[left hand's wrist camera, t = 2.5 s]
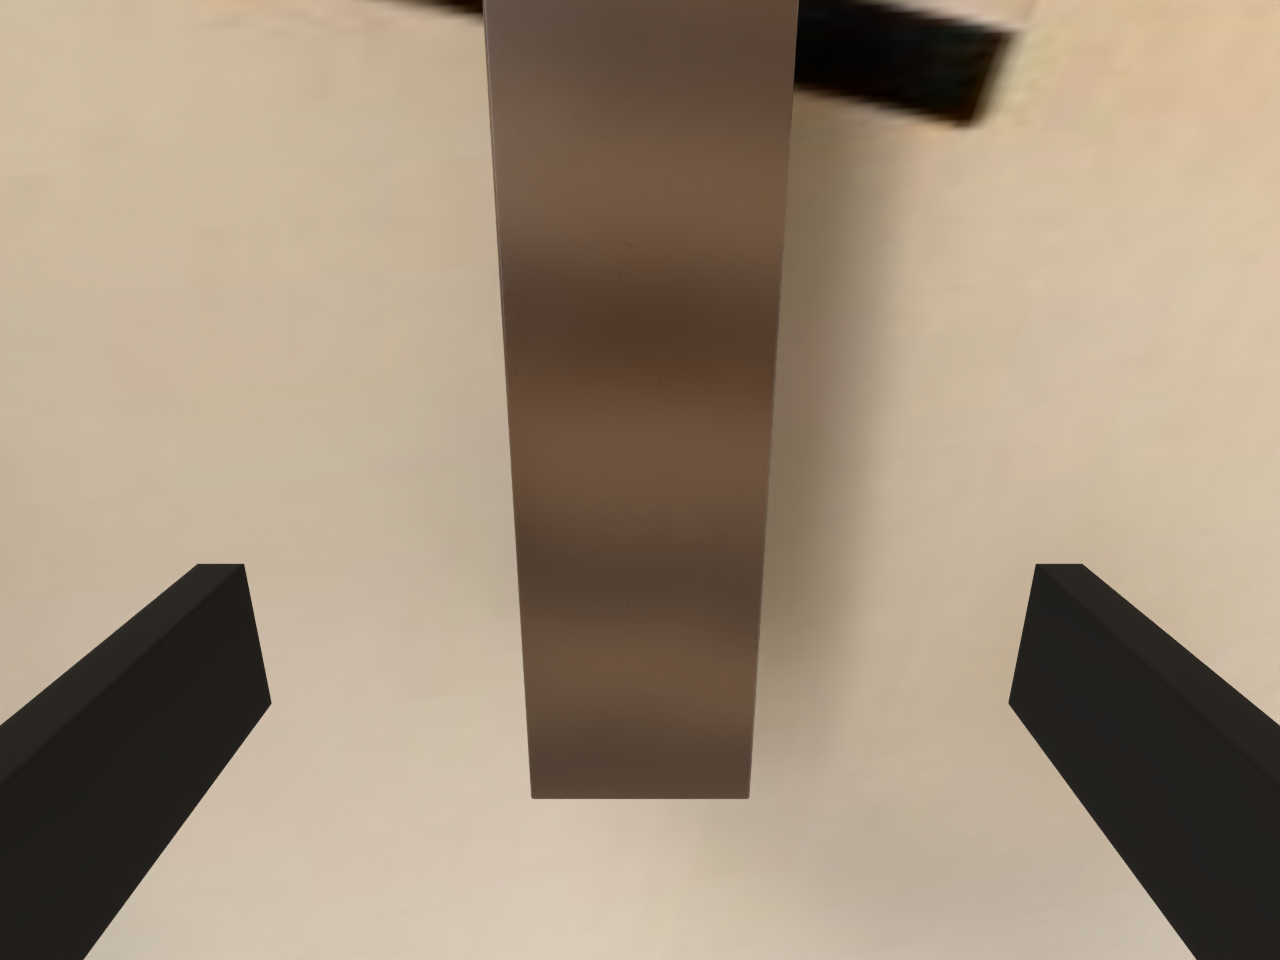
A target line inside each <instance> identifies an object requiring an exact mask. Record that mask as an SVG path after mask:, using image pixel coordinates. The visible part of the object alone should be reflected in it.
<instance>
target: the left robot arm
mask: <svg viewBox="0 0 1280 960" xmlns="http://www.w3.org/2000/svg"><path fill="white" fill-rule="evenodd" d="M271 704H272V703H271V698H270V693H269V688H268V683H267V678H266V673H265V668H264V663H263V657H262V652H261V647H260V642H259V637H258V632H257V627H256V622H255V617H254V612H253V607H252V602H251V597H250V592H249V587H248V582H247V576H246V571H245V566H244V564H197V565H196V566H195V567H193V568H192V569H191V570H190V571H189V572H187V573H186V574H185V575H184V576H182V577H181V578H180V579H179V580H178V581H176V582H175V583H174V584H173V585H171V586H170V587H169V588H168V589H167V590H165V591H164V592H163V593H162V594H160V595H159V596H158V597H157V598H156V599H154V600H153V601H152V602H151V603H149V604H148V605H147V606H146V607H145V608H143V609H142V610H141V611H140V612H138V613H137V614H136V615H135V616H134V617H132V618H131V619H130V620H129V621H127V622H126V623H125V624H124V625H123V626H121V627H120V628H119V629H118V630H116V631H115V632H114V633H113V634H112V635H110V636H109V637H108V638H107V639H105V640H104V641H103V642H102V643H101V644H99V645H98V646H97V647H96V648H94V649H93V650H92V651H91V652H90V653H88V654H87V655H86V656H85V657H84V658H82V659H81V660H80V661H79V662H77V663H76V664H75V665H74V666H73V667H71V668H70V669H69V670H68V671H66V672H65V673H64V674H63V675H62V676H60V677H59V678H58V679H57V680H55V681H54V682H53V683H52V684H51V685H49V686H48V687H47V688H46V689H44V690H43V691H42V692H41V693H40V694H38V695H37V696H36V697H35V698H33V699H32V700H31V701H30V702H29V703H27V704H26V705H25V706H24V707H22V708H21V709H20V710H19V711H18V712H16V713H15V714H14V715H13V716H11V717H10V718H9V719H8V720H7V721H5V722H4V723H3V724H2V725H0V960H84V958H85V957H86V955H87V954H88V953H89V951H90V950H91V949H92V947H93V946H94V945H95V943H96V942H97V940H98V939H99V938H100V936H101V935H102V934H103V932H104V931H105V930H106V928H107V927H108V926H109V924H110V923H111V921H112V920H113V919H114V917H115V916H116V915H117V913H118V912H119V911H120V909H121V908H122V906H123V905H124V904H125V902H126V901H127V900H128V898H129V897H130V896H131V894H132V893H133V891H134V890H135V889H136V887H137V886H138V885H139V883H140V882H141V881H142V879H143V878H144V876H145V875H146V874H147V872H148V871H149V870H150V868H151V867H152V866H153V864H154V863H155V862H156V860H157V859H158V857H159V856H160V855H161V853H162V852H163V851H164V849H165V848H166V847H167V845H168V844H169V842H170V841H171V840H172V838H173V837H174V836H175V834H176V833H177V832H178V830H179V829H180V827H181V826H182V825H183V823H184V822H185V821H186V819H187V818H188V817H189V815H190V814H191V813H192V811H193V810H194V808H195V807H196V806H197V804H198V803H199V802H200V800H201V799H202V798H203V796H204V795H205V793H206V792H207V791H208V789H209V788H210V787H211V785H212V784H213V783H214V781H215V780H216V778H217V777H218V776H219V774H220V773H221V772H222V770H223V769H224V768H225V766H226V765H227V763H228V762H229V761H230V759H231V758H232V757H233V755H234V754H235V753H236V751H237V750H238V749H239V747H240V746H241V744H242V743H243V742H244V740H245V739H246V738H247V736H248V735H249V734H250V732H251V731H252V729H253V728H254V727H255V725H256V724H257V723H258V721H259V720H260V719H261V717H262V716H263V714H264V713H265V712H266V710H267V709H268V708H269V706H270V705H271ZM1008 704H1009V705H1010V706H1011V708H1012V709H1013V710H1014V712H1015V713H1016V714H1017V716H1018V717H1019V719H1020V720H1021V721H1022V723H1023V724H1024V725H1025V727H1026V728H1027V729H1028V731H1029V732H1030V734H1031V735H1032V736H1033V738H1034V739H1035V740H1036V742H1037V743H1038V744H1039V746H1040V747H1041V749H1042V750H1043V751H1044V753H1045V754H1046V755H1047V757H1048V758H1049V759H1050V761H1051V762H1052V763H1053V765H1054V766H1055V768H1056V769H1057V770H1058V772H1059V773H1060V774H1061V776H1062V777H1063V778H1064V780H1065V781H1066V783H1067V784H1068V785H1069V787H1070V788H1071V789H1072V791H1073V792H1074V793H1075V795H1076V796H1077V798H1078V799H1079V800H1080V802H1081V803H1082V804H1083V806H1084V807H1085V808H1086V810H1087V811H1088V813H1089V814H1090V815H1091V817H1092V818H1093V819H1094V821H1095V822H1096V823H1097V825H1098V826H1099V827H1100V829H1101V830H1102V832H1103V833H1104V834H1105V836H1106V837H1107V838H1108V840H1109V841H1110V842H1111V844H1112V845H1113V847H1114V848H1115V849H1116V851H1117V852H1118V853H1119V855H1120V856H1121V857H1122V859H1123V860H1124V862H1125V863H1126V864H1127V866H1128V867H1129V868H1130V870H1131V871H1132V872H1133V874H1134V875H1135V876H1136V878H1137V879H1138V881H1139V882H1140V883H1141V885H1142V886H1143V887H1144V889H1145V890H1146V891H1147V893H1148V894H1149V896H1150V897H1151V898H1152V900H1153V901H1154V902H1155V904H1156V905H1157V906H1158V908H1159V909H1160V911H1161V912H1162V913H1163V915H1164V916H1165V917H1166V919H1167V920H1168V921H1169V923H1170V924H1171V926H1172V927H1173V928H1174V930H1175V931H1176V932H1177V934H1178V935H1179V936H1180V938H1181V939H1182V940H1183V942H1184V943H1185V945H1186V946H1187V947H1188V949H1189V950H1190V951H1191V953H1192V954H1193V955H1194V957H1195V958H1196V960H1280V725H1278V724H1277V723H1276V722H1275V721H1273V720H1272V719H1271V718H1270V717H1269V716H1267V715H1266V714H1265V713H1264V712H1262V711H1261V710H1260V709H1259V708H1258V707H1256V706H1255V705H1254V704H1253V703H1251V702H1250V701H1249V700H1248V699H1247V698H1245V697H1244V696H1243V695H1242V694H1240V693H1239V692H1238V691H1237V690H1236V689H1234V688H1233V687H1232V686H1231V685H1229V684H1228V683H1227V682H1226V681H1225V680H1223V679H1222V678H1221V677H1220V676H1218V675H1217V674H1216V673H1215V672H1214V671H1212V670H1211V669H1210V668H1209V667H1207V666H1206V665H1205V664H1204V663H1203V662H1201V661H1200V660H1199V659H1198V658H1196V657H1195V656H1194V655H1193V654H1192V653H1190V652H1189V651H1188V650H1187V649H1185V648H1184V647H1183V646H1182V645H1181V644H1179V643H1178V642H1177V641H1176V640H1175V639H1173V638H1172V637H1171V636H1170V635H1168V634H1167V633H1166V632H1165V631H1164V630H1162V629H1161V628H1160V627H1159V626H1157V625H1156V624H1155V623H1154V622H1153V621H1151V620H1150V619H1149V618H1148V617H1146V616H1145V615H1144V614H1143V613H1142V612H1140V611H1139V610H1138V609H1137V608H1135V607H1134V606H1133V605H1132V604H1131V603H1129V602H1128V601H1127V600H1126V599H1124V598H1123V597H1122V596H1121V595H1120V594H1118V593H1117V592H1116V591H1115V590H1113V589H1112V588H1111V587H1110V586H1109V585H1107V584H1106V583H1105V582H1104V581H1102V580H1101V579H1100V578H1099V577H1098V576H1096V575H1095V574H1094V573H1093V572H1091V571H1090V570H1089V569H1088V568H1087V567H1085V566H1084V565H1083V564H1036V566H1035V571H1034V576H1033V582H1032V587H1031V592H1030V597H1029V602H1028V607H1027V612H1026V617H1025V622H1024V627H1023V632H1022V637H1021V642H1020V647H1019V652H1018V657H1017V663H1016V668H1015V673H1014V678H1013V683H1012V688H1011V693H1010V698H1009V703H1008Z"/></svg>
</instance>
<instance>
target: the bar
mask: <svg viewBox="0 0 1280 960" xmlns="http://www.w3.org/2000/svg"><path fill="white" fill-rule="evenodd" d="M798 4H799V0H483V16H484V32H485V49H486V65H487V81H488V98H489V114H490V130H491V147H492V163H493V179H494V196H495V212H496V228H497V245H498V261H499V277H500V294H501V310H502V327H503V343H504V359H505V376H506V392H507V408H508V425H509V441H510V457H511V474H512V490H513V506H514V523H515V539H516V555H517V572H518V588H519V605H520V621H521V637H522V654H523V670H524V686H525V703H526V719H527V735H528V752H529V768H530V784H531V797H532V798H533V799H748V798H749V796H750V779H751V763H752V747H753V731H754V715H755V699H756V683H757V666H758V650H759V634H760V618H761V602H762V586H763V570H764V553H765V537H766V521H767V505H768V489H769V473H770V457H771V440H772V424H773V408H774V392H775V376H776V360H777V344H778V327H779V311H780V295H781V279H782V263H783V247H784V231H785V214H786V198H787V182H788V166H789V150H790V134H791V118H792V101H793V85H794V69H795V53H796V37H797V21H798Z"/></svg>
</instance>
